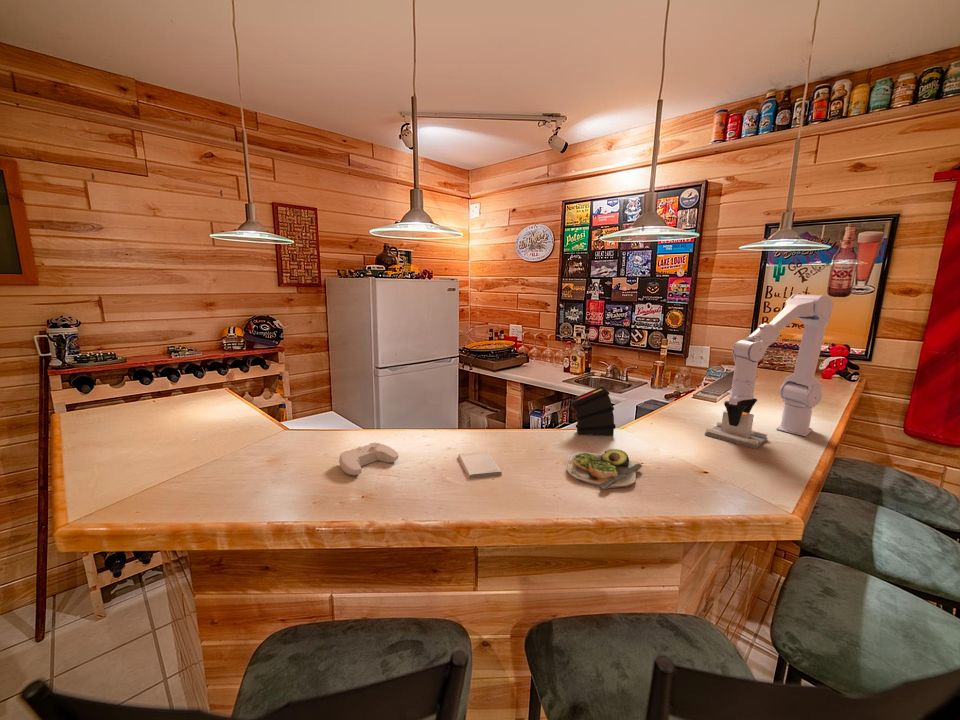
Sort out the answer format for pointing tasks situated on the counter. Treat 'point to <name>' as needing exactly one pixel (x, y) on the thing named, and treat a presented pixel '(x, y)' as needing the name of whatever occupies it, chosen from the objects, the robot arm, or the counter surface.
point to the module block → (742, 428)
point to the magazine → (594, 413)
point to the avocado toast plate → (604, 468)
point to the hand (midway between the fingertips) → (737, 422)
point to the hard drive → (479, 465)
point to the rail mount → (737, 437)
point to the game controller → (365, 457)
